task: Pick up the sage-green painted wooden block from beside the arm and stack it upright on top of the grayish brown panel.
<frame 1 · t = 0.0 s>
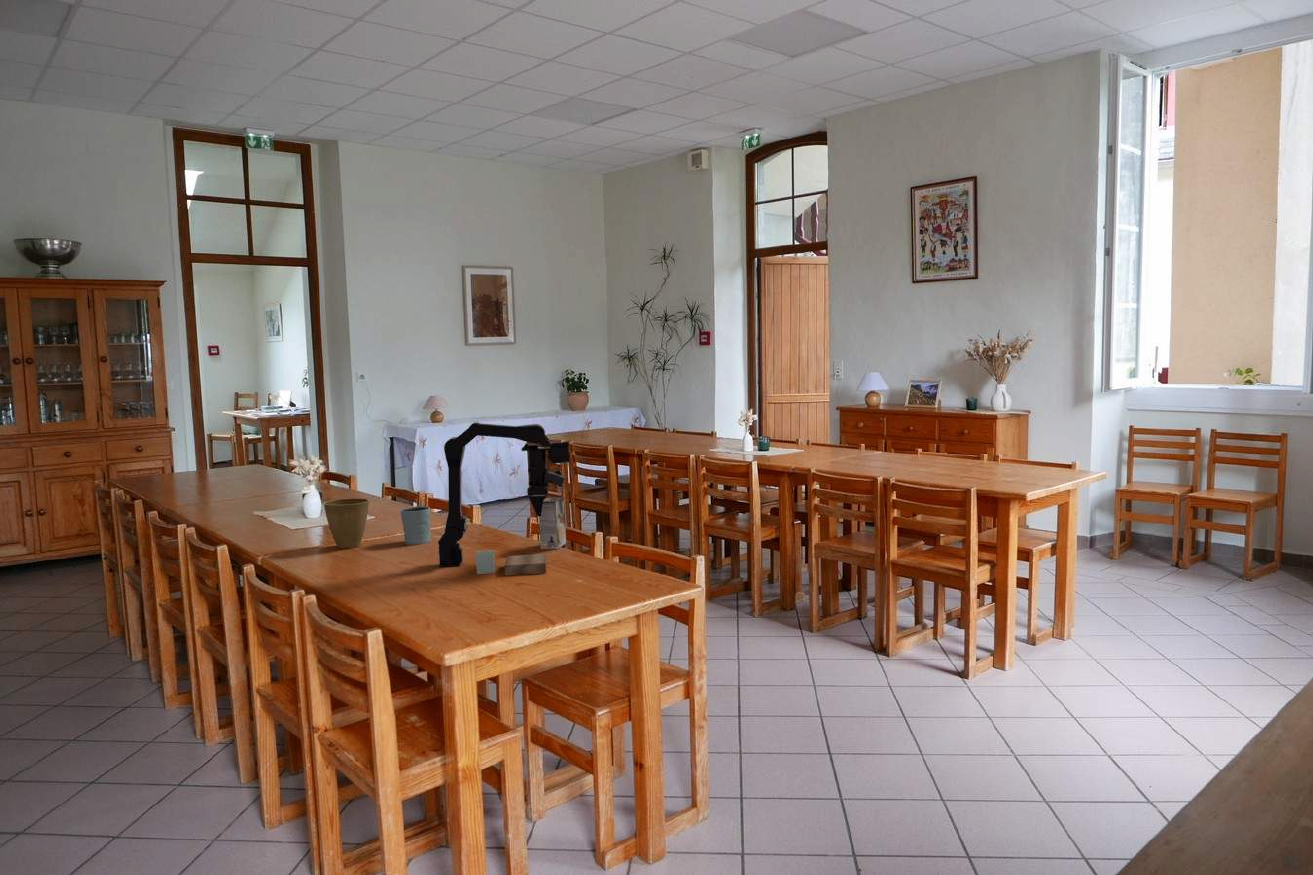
hand: (539, 513, 276), 15 cm above the table, fingers open, 9 cm apart
blue-grey cup: (417, 542, 309), on the table
grayish brown panel: (526, 569, 265), on the table
sage block: (486, 571, 264), on the table
coffee box: (553, 546, 295), on the table
plant pot: (349, 546, 306), on the table
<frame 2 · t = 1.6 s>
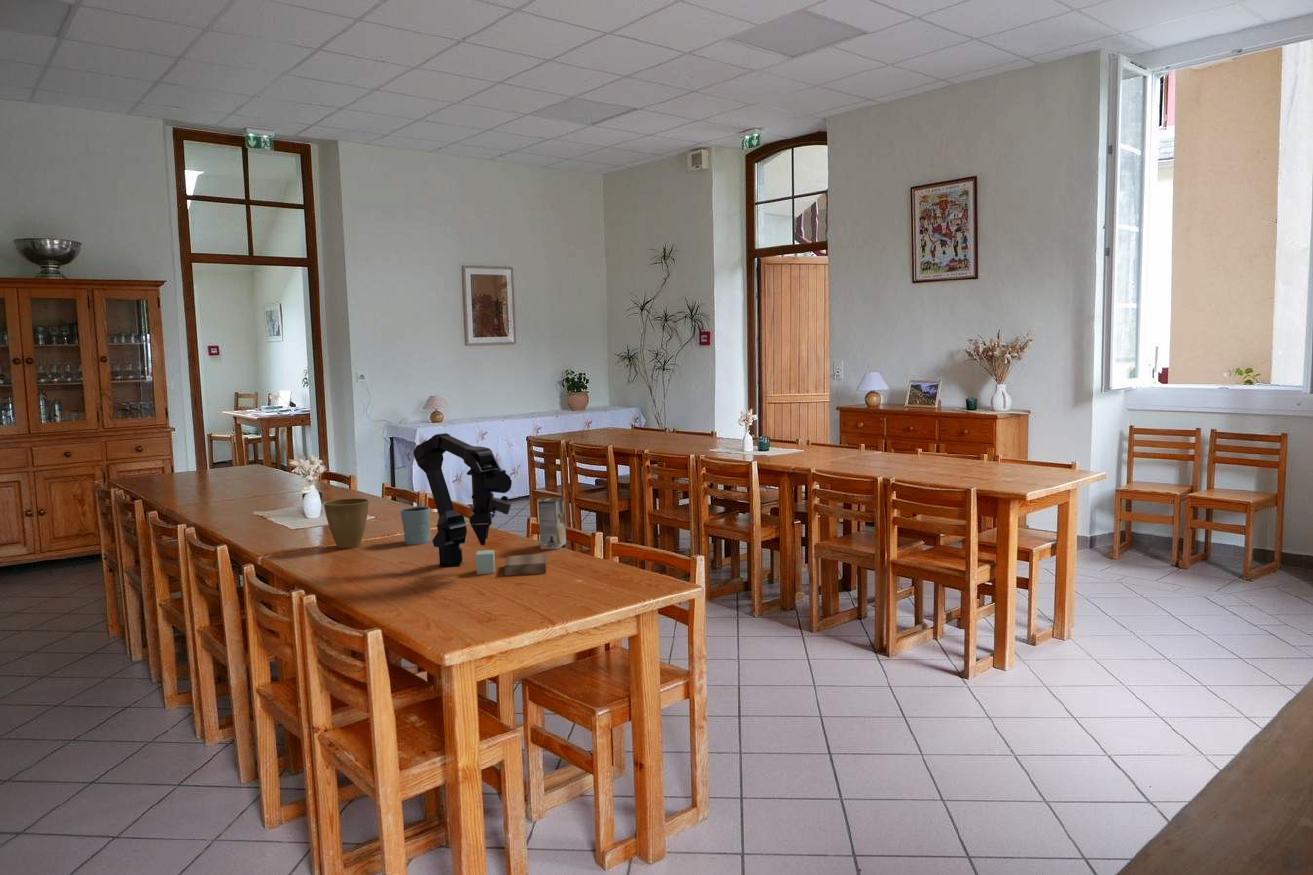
hand: (484, 541, 263), 9 cm above the table, fingers open, 9 cm apart
nothing on the table moved.
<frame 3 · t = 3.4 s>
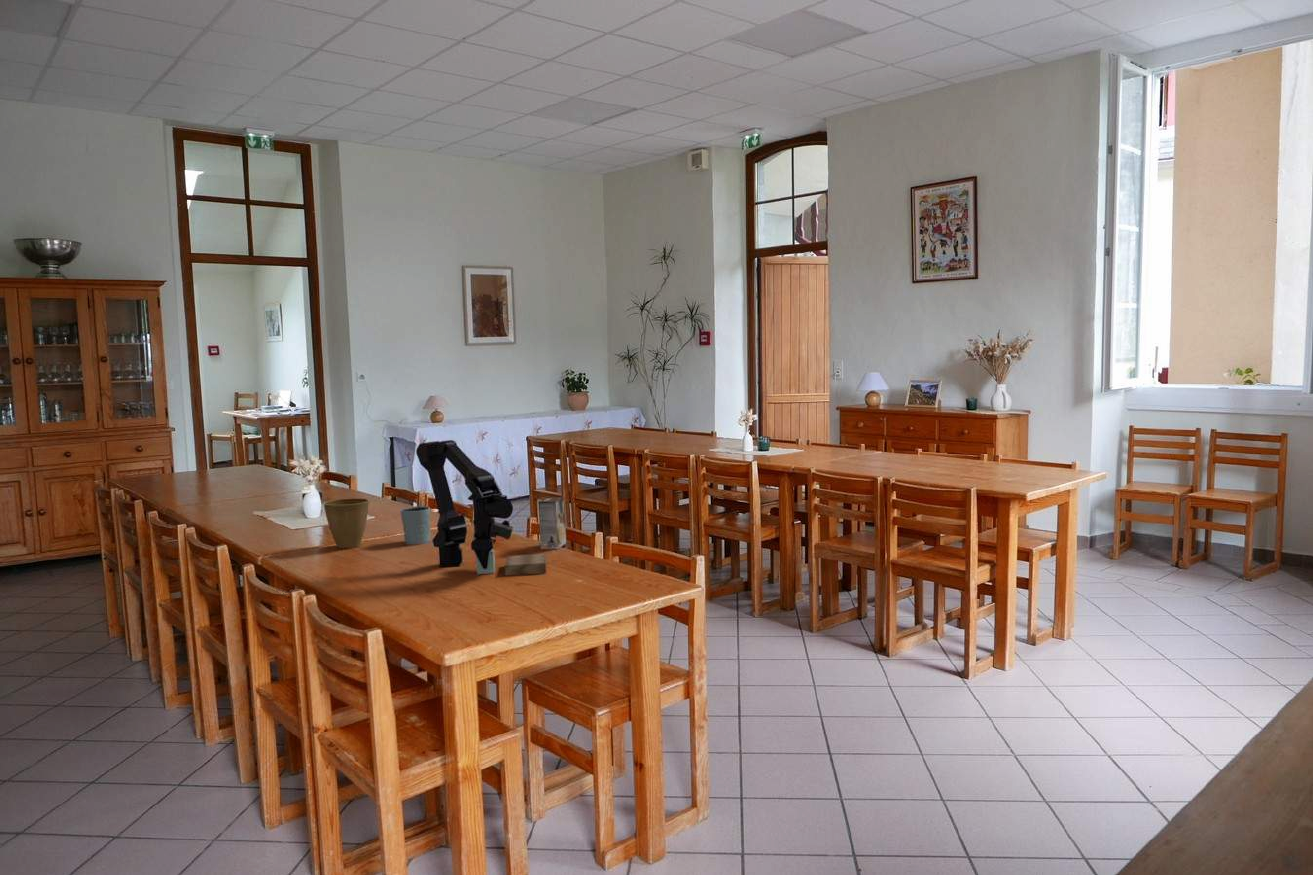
hand: (485, 566, 263), 2 cm above the table, fingers closed on sage block, 5 cm apart
sage block: (486, 571, 264), on the table, touching gripper
everything else where it was.
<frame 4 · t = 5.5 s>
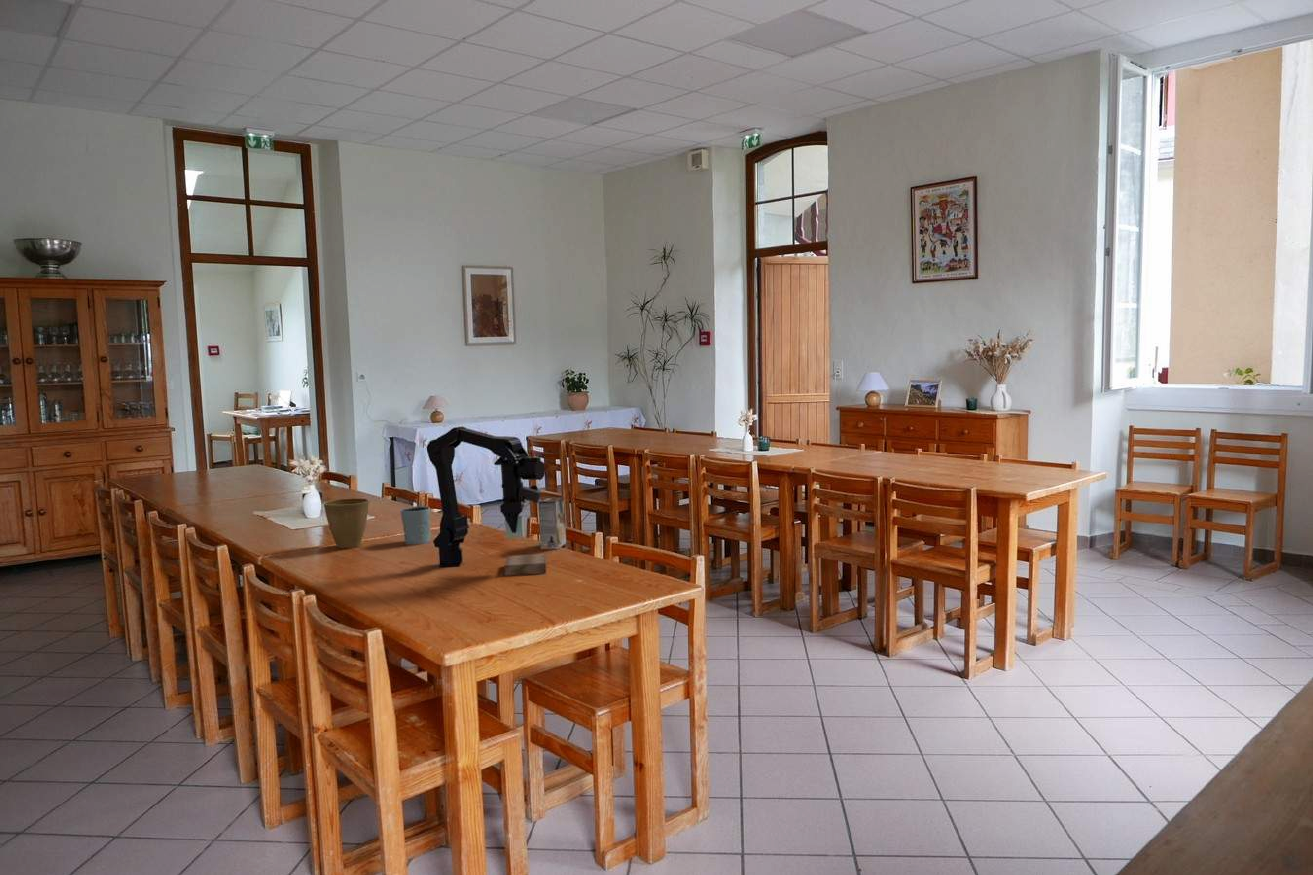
hand: (514, 530, 263), 12 cm above the table, fingers closed on sage block, 5 cm apart
sage block: (515, 535, 263), point 10 cm above the table, touching gripper
everything else where it was.
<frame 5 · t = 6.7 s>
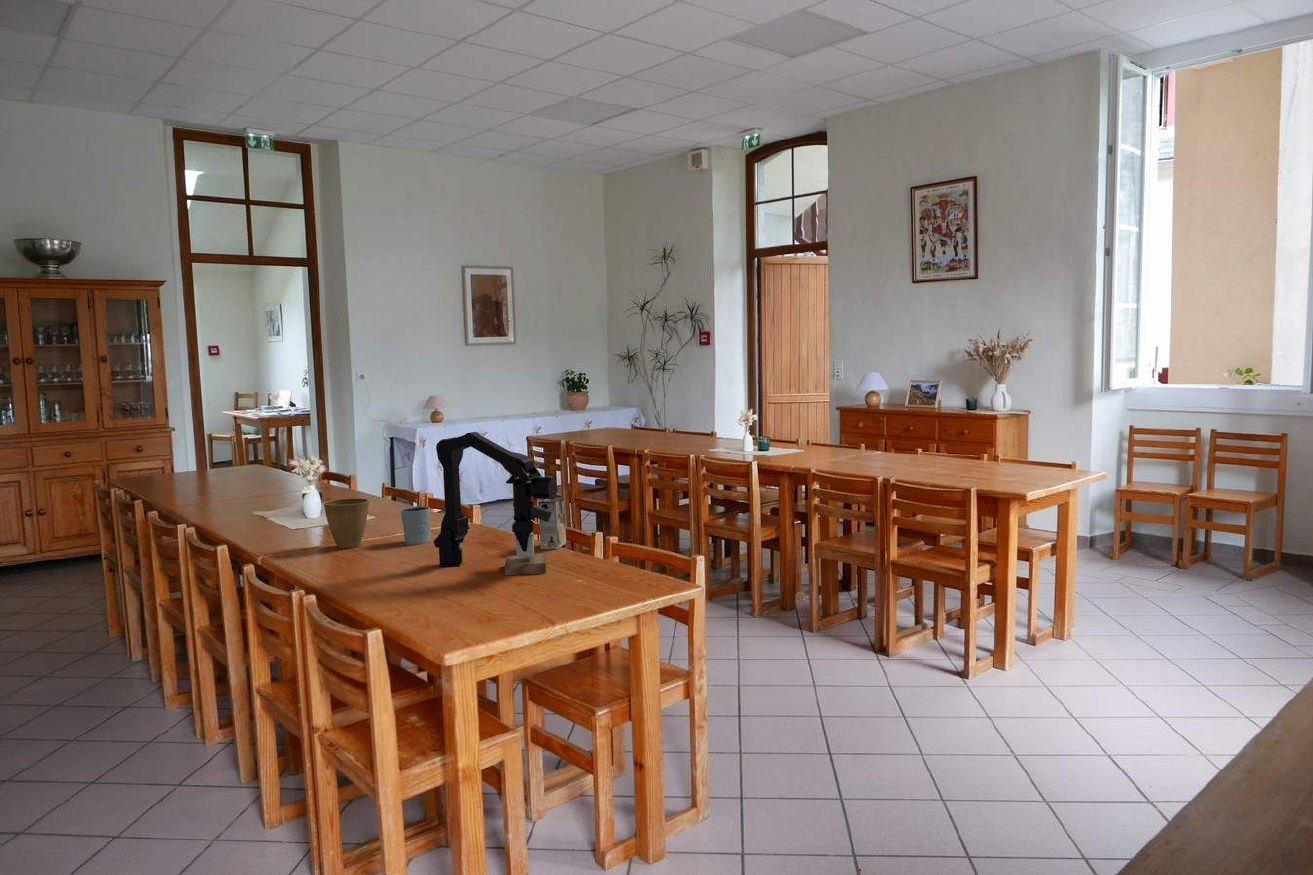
hand: (525, 549, 264), 6 cm above the table, fingers closed on sage block, 5 cm apart
sage block: (525, 554, 265), point 5 cm above the table, touching gripper
everything else where it was.
when the fingers open (5 cm above the table, at t = 7.6 s): sage block stays where it is, resting on grayish brown panel.
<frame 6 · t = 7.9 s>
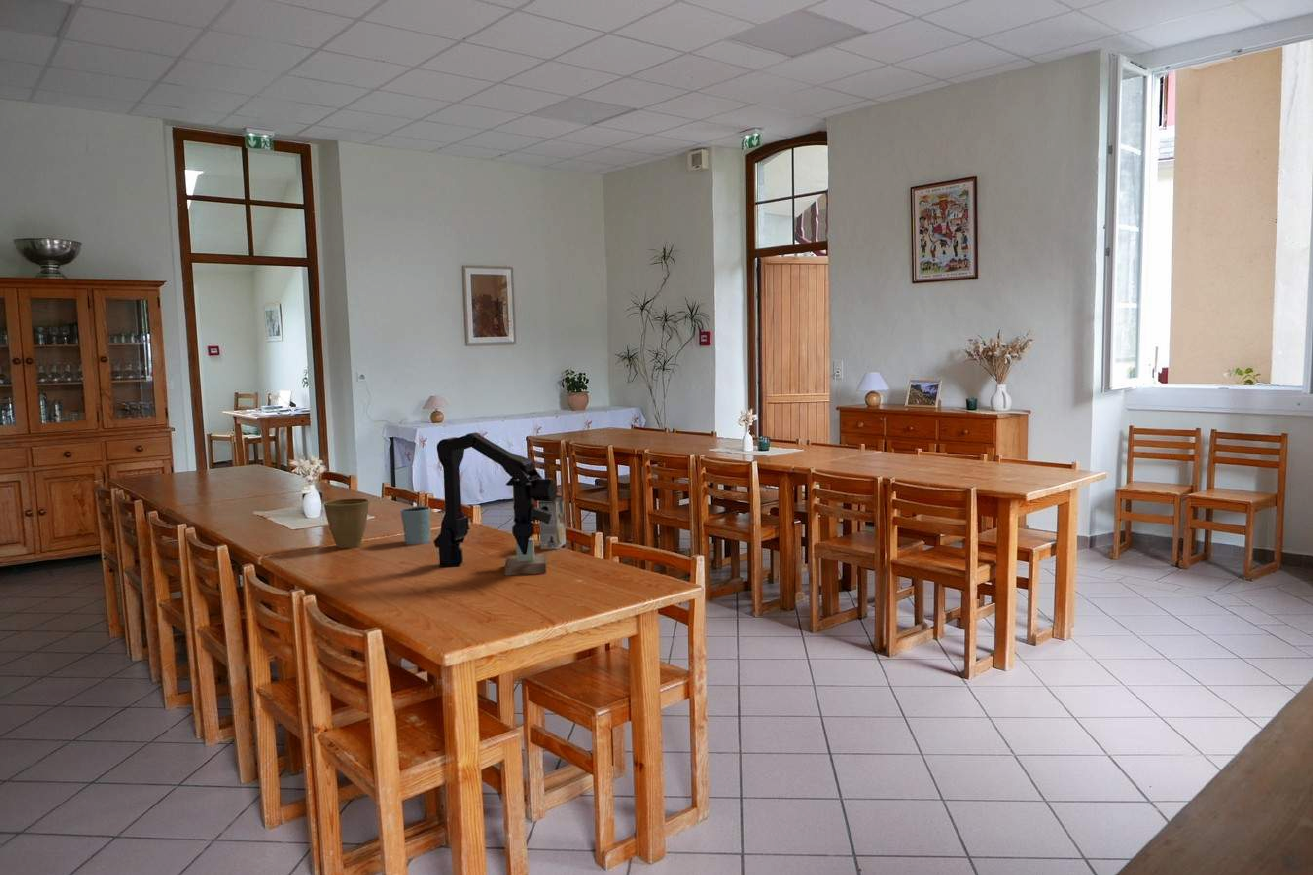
hand: (525, 551, 264), 5 cm above the table, fingers open, 8 cm apart
sage block: (525, 559, 265), point 3 cm above the table, touching grayish brown panel
everything else where it was.
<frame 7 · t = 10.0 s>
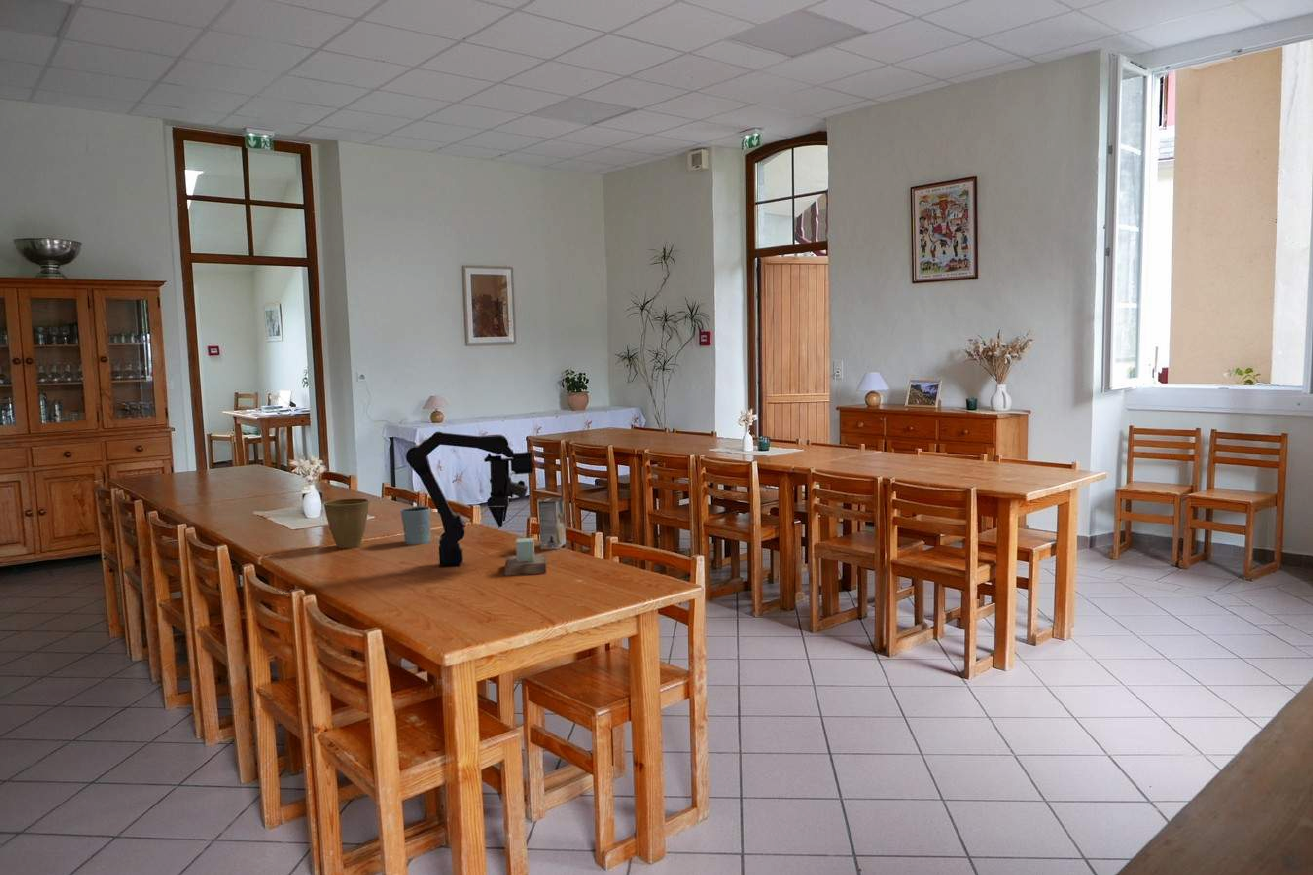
hand: (501, 523, 276), 12 cm above the table, fingers open, 9 cm apart
nothing on the table moved.
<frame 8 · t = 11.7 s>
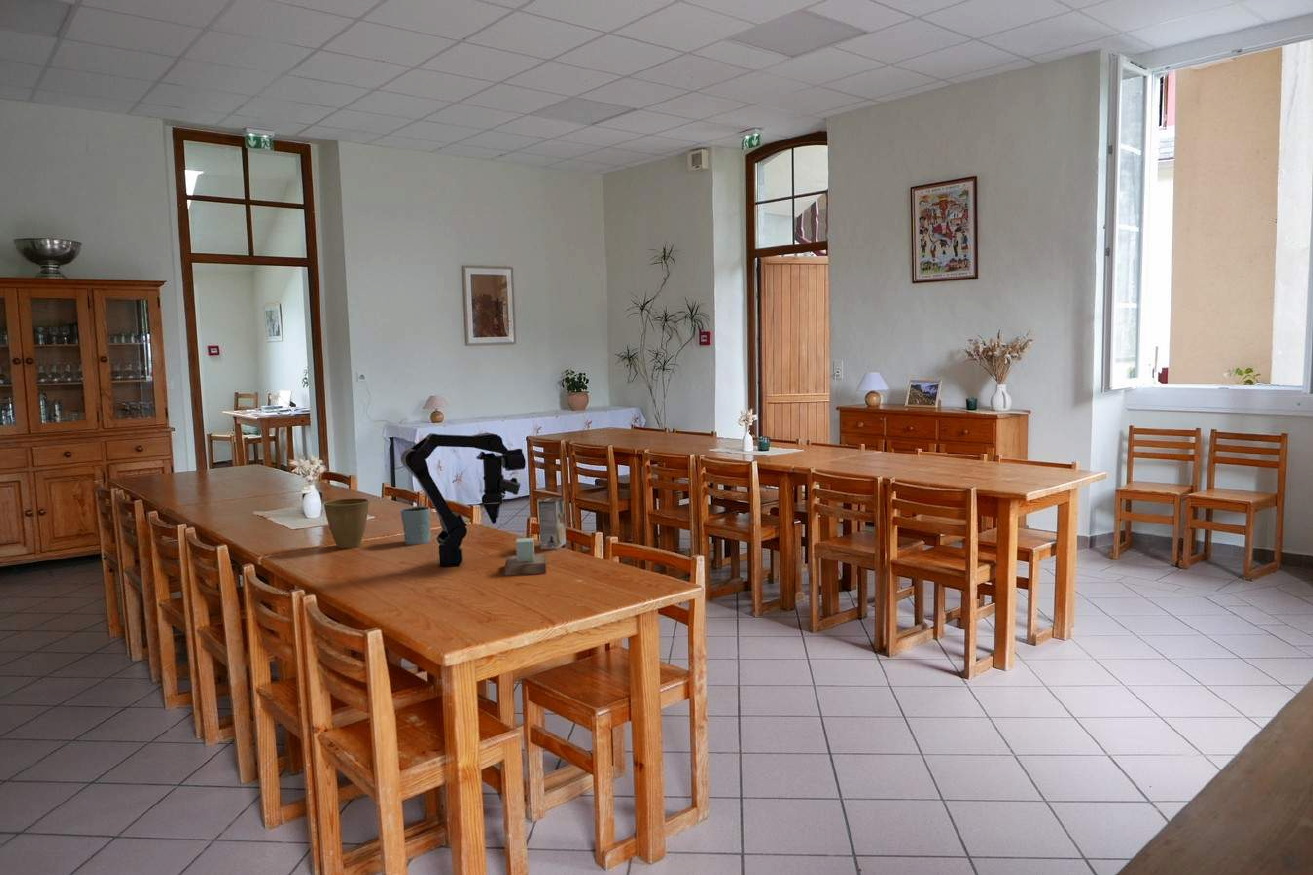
hand: (495, 520, 280), 12 cm above the table, fingers open, 9 cm apart
nothing on the table moved.
at the end: sage block inside the target area on the grayish brown panel (0.0 cm from its centre), point 3.0 cm above the grayish brown panel's base; sage block tilted 0°; the gripper is holding nothing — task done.
